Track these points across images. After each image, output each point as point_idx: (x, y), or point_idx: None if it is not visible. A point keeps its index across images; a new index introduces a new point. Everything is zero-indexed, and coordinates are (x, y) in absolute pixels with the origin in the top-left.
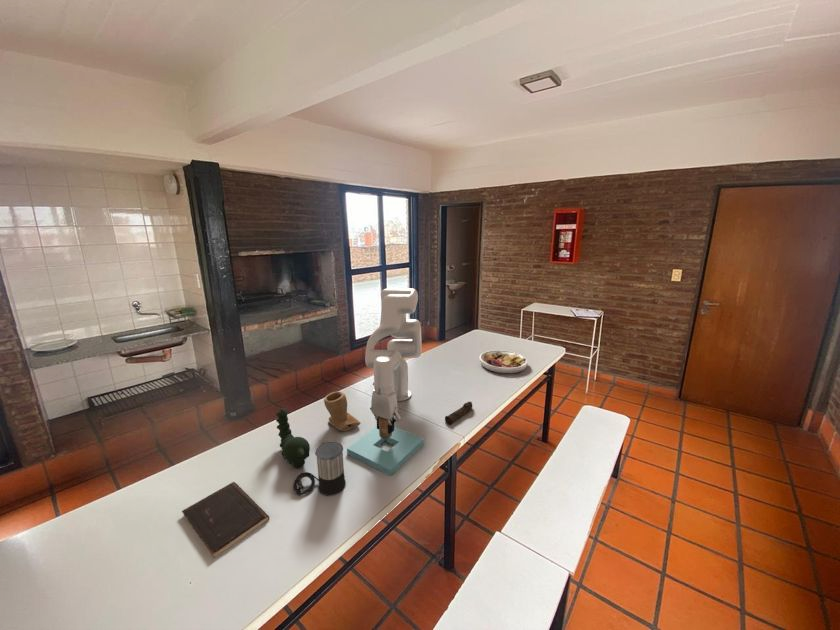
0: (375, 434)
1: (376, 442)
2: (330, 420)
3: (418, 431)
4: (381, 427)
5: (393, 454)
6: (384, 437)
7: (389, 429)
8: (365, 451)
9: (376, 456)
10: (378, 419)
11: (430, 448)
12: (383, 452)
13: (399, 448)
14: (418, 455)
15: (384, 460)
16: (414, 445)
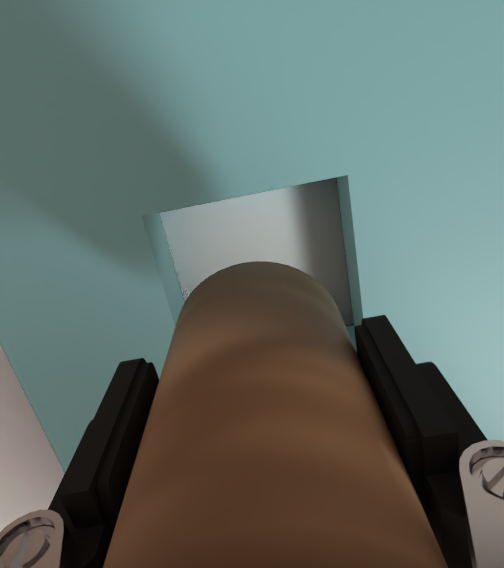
0: (458, 304)
1: (353, 232)
2: None
3: None
4: (234, 361)
5: (64, 231)
6: (201, 289)
7: (99, 422)
8: (325, 28)
9: (152, 70)
10: (440, 481)
11: (32, 479)
12: (158, 176)
13: (105, 327)
14: (15, 384)
15: (33, 94)
16: (58, 432)
